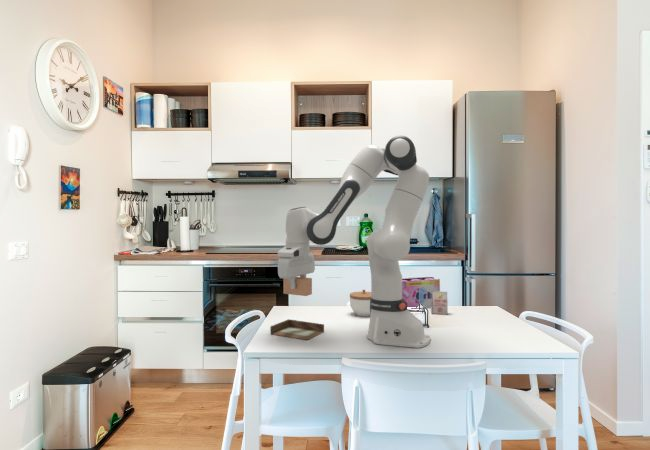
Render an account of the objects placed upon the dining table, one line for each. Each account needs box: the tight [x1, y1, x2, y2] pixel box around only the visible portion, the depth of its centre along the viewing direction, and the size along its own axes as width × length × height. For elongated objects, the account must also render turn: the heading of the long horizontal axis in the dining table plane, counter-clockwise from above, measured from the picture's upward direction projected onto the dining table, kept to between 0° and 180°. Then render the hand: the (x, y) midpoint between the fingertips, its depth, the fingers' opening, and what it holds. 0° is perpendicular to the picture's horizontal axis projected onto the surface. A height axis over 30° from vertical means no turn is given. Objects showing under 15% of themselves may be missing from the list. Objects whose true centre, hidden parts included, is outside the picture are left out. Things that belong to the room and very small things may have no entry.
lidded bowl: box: [349, 289, 371, 317], centre depth 182 cm, size 13×13×11 cm
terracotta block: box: [283, 276, 313, 297], centre depth 153 cm, size 4×10×6 cm, turn 61°
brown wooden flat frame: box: [270, 319, 325, 341], centre depth 153 cm, size 16×12×3 cm
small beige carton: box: [430, 291, 449, 316], centre depth 184 cm, size 4×7×10 cm, turn 78°
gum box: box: [402, 276, 441, 309], centre depth 198 cm, size 24×8×14 cm, turn 108°
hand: (297, 287), depth 153 cm, fingers closed on terracotta block, 4 cm apart
